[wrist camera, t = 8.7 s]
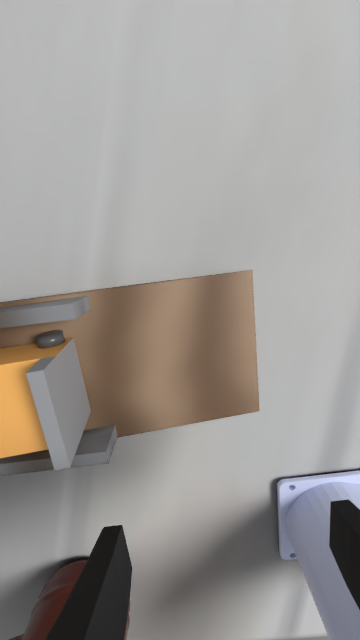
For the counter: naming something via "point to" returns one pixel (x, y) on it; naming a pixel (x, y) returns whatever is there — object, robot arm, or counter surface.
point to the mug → (55, 601)
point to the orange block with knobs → (42, 399)
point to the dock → (147, 356)
